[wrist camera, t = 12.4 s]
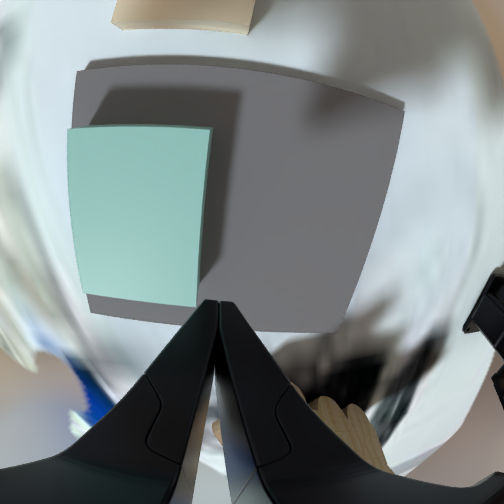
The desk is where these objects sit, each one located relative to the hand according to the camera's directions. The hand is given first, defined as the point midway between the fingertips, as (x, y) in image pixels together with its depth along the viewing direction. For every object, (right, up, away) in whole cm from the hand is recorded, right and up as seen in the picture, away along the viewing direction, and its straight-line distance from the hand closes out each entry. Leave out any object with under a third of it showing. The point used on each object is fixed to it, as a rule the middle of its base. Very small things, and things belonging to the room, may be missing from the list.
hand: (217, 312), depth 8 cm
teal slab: (-1, +3, +4) cm, 5 cm away
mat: (0, +4, +6) cm, 7 cm away
